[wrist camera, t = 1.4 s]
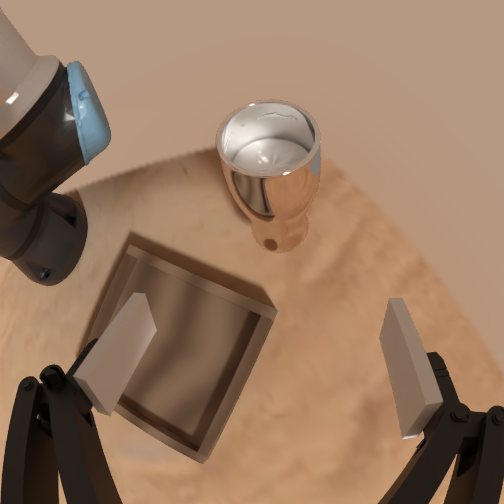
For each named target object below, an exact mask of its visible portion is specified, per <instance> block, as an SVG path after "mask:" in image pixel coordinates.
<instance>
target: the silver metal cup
mask: <svg viewBox="0 0 504 504" xmlns="http://www.w3.org/2000/svg"><path fill="white" fill-rule="evenodd" d="M320 140H321V133H320V129H319V126H318V124H317V122H316V120H315V118H314V117H313V116H312V115H311V114H310V113H309V112H308V111H307V110H305V109H303V108H302V107H300V106H298V105H296V104H294V103H291V102H288V101H283V100H274V99H267V100H259V101H255V102H251V103H248V104H245V105H243V106H241V107H239V108H238V109H236V110H234V111H233V112H232V113H231V114H229V115H228V116H227V117H226V118H225V119H224V121H223V122H222V124H221V125H220V127H219V129H218V131H217V135H216V148H217V151H218V154H219V157H220V161H221V165H222V169H223V173H224V176H225V179H226V182H227V185H228V187H229V190H230V192H231V194H232V196H233V198H234V200H235V201H236V203H237V204H238V205H239V207H240V208H241V210H242V211H243V212H244V213H245V214H246V215H247V216H248V218H249V219H250V220H251V230H252V234H253V237H254V239H255V241H256V242H257V243H258V244H259V245H260V246H261V247H262V248H264V249H265V250H267V251H270V252H273V253H286V252H290V251H292V250H294V249H296V248H297V247H299V246H300V245H301V244H302V243H303V241H304V240H305V238H306V236H307V234H308V229H309V223H308V218H307V215H306V214H307V212H308V210H309V208H310V206H311V204H312V202H313V200H314V197H315V195H316V192H317V189H318V184H319V179H320V169H321V148H320Z"/></svg>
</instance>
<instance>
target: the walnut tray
mask: <svg viewBox="0 0 504 504" xmlns="http://www.w3.org/2000/svg"><path fill="white" fill-rule="evenodd" d="M133 293H145V294H146V298H147V301H148V304H149V308H150V311H151V314H152V317H153V320H154V323H155V326H156V329H157V331H156V333H155V334H154V336H153V338H152V340H151V342H150V343H149V345H148V347H147V349H146V350H145V352H144V354H143V356H142V358H141V359H140V361H139V363H138V365H137V367H136V369H135V370H134V372H133V374H132V376H131V378H130V380H129V381H128V383H127V385H126V387H125V389H124V391H123V393H122V395H121V397H120V398H119V400H118V402H117V404H116V406H115V408H114V411H115V412H117V413H118V414H120V415H121V416H122V417H124V418H125V419H127V420H128V421H130V422H131V423H133V424H134V425H136V426H137V427H139V428H140V429H142V430H143V431H145V432H146V433H148V434H149V435H151V436H153V437H154V438H156V439H158V440H159V441H161V442H163V443H164V444H166V445H168V446H169V447H171V448H173V449H175V450H176V451H178V452H180V453H182V454H184V455H186V456H187V457H189V458H191V459H193V460H195V461H197V462H199V463H201V464H204V463H205V462H206V460H207V459H208V458H209V456H210V454H211V453H212V451H213V449H214V447H215V445H216V443H217V441H218V439H219V437H220V435H221V433H222V431H223V429H224V427H225V425H226V423H227V421H228V419H229V417H230V415H231V413H232V411H233V408H234V406H235V404H236V402H237V400H238V398H239V396H240V394H241V392H242V390H243V388H244V385H245V383H246V381H247V379H248V377H249V375H250V373H251V370H252V368H253V366H254V364H255V362H256V359H257V357H258V355H259V353H260V351H261V348H262V346H263V344H264V342H265V339H266V337H267V335H268V333H269V330H270V328H271V326H272V324H273V321H274V319H275V317H276V314H277V312H278V311H277V309H275V308H273V307H271V306H268V305H266V304H263V303H261V302H258V301H256V300H254V299H251V298H249V297H246V296H244V295H242V294H239V293H237V292H235V291H232V290H230V289H228V288H225V287H223V286H221V285H218V284H216V283H214V282H211V281H209V280H207V279H205V278H202V277H200V276H198V275H196V274H193V273H191V272H189V271H187V270H184V269H182V268H180V267H178V266H176V265H173V264H171V263H169V262H167V261H165V260H162V259H160V258H158V257H156V256H154V255H152V254H150V253H147V252H145V251H143V250H141V249H139V248H137V247H135V246H133V245H131V244H130V245H129V247H128V249H127V251H126V253H125V255H124V257H123V259H122V261H121V263H120V265H119V267H118V270H117V272H116V274H115V276H114V278H113V280H112V282H111V285H110V287H109V289H108V291H107V294H106V296H105V298H104V301H103V303H102V305H101V308H100V310H99V312H98V315H97V317H96V320H95V322H94V325H93V327H92V330H91V332H90V335H89V337H88V340H87V343H86V345H85V347H86V346H87V344H88V343H90V342H91V341H92V340H94V339H95V338H97V339H99V338H100V337H101V336H102V334H103V333H104V331H105V330H106V329H107V327H108V326H109V325H110V323H111V322H112V321H113V319H114V318H115V317H116V315H117V314H118V313H119V311H120V310H121V309H122V307H123V306H124V305H125V303H126V302H127V301H128V300H129V298H130V297H131V296H132V294H133Z"/></svg>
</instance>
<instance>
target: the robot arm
mask: <svg viewBox="0 0 504 504" xmlns="http://www.w3.org/2000/svg"><path fill="white" fill-rule="evenodd" d="M110 140H111V131H110V127H109V123H108V121H107V118H106V115H105V113H104V110H103V108H102V106H101V103H100V101H99V98H98V96H97V93H96V91H95V89H94V87H93V84H92V82H91V80H90V78H89V76H88V74H87V72H86V70H85V69H84V67H83V66H82V65H81V63H80V62H79V61H74V62H73V63H69V64H67V67H64V66H63V65H62V63H61V62H60V61H59V59H58V58H57V57H56V56H54V55H50V56H37V55H35V53H34V52H33V51H32V50H31V48H30V47H29V46H28V44H27V43H26V42H25V40H24V39H23V38H22V37H21V35H20V34H19V33H18V31H17V30H16V29H15V28H14V26H13V25H12V24H11V22H10V21H9V20H8V18H7V17H6V15H5V14H4V13H3V11H2V10H1V8H0V256H1V257H4V258H6V259H8V260H10V261H12V262H13V263H14V264H15V265H16V266H17V267H18V268H19V269H20V270H21V271H22V272H23V273H24V274H25V275H26V276H27V277H28V278H29V279H30V280H32V281H34V282H36V283H39V284H41V285H44V286H52V285H56V284H58V283H60V282H61V281H63V280H64V279H65V278H66V277H67V276H68V275H69V274H70V273H71V272H72V270H73V269H74V268H75V266H76V264H77V263H78V261H79V259H80V257H81V254H82V252H83V249H84V246H85V242H86V237H87V218H86V214H85V212H84V210H83V208H82V207H81V205H80V204H78V203H77V202H76V201H74V200H73V199H72V198H70V197H68V196H66V195H61V194H57V193H52V191H53V190H54V189H56V188H57V187H58V186H59V185H60V184H62V183H63V182H64V181H65V180H67V179H68V178H69V177H70V176H72V175H73V174H74V173H75V172H77V171H78V170H79V169H81V168H82V167H84V166H85V165H88V164H89V162H90V160H92V159H93V158H94V157H95V156H97V155H98V154H99V153H100V152H102V151H103V150H104V149H105V148H106V147H107V146H108V145H109V142H110ZM156 331H157V329H156V326H155V323H154V320H153V317H152V314H151V311H150V308H149V304H148V301H147V298H146V294H145V293H133V294H132V296H131V297H130V298H129V300H128V301H127V302H126V303H125V305H124V306H123V307H122V309H121V310H120V311H119V313H118V314H117V315H116V317H115V318H114V319H113V321H112V322H111V323H110V325H109V326H108V327H107V329H106V330H105V331H104V333H103V334H102V336H101V337H100V338H99V339H97V338H95V339H94V340H92V341H91V342H90V343H88V344H87V346H86V347H85V348H84V350H83V352H82V353H81V354H80V355H79V358H77V360H76V361H75V362H74V364H73V365H72V367H71V368H70V369H69V371H68V372H67V374H66V375H65V373H64V372H63V370H62V369H61V367H60V366H58V365H55V364H54V365H49V366H47V367H46V368H44V369H43V370H42V372H41V373H40V377H39V378H40V380H41V381H42V382H43V383H39V382H38V380H37V379H36V378H35V377H33V376H29V377H26V378H24V379H23V380H22V381H21V382H20V384H19V387H18V390H17V394H16V398H15V402H14V406H13V410H12V415H11V420H10V425H9V430H8V435H7V441H6V447H5V454H4V462H3V471H2V483H1V504H59V491H58V470H59V474H60V478H61V483H62V487H63V491H64V494H65V498H66V501H67V504H123V503H122V501H121V499H120V496H119V494H118V491H117V489H116V486H115V484H114V481H113V478H112V476H111V473H110V470H109V467H108V464H107V461H106V458H105V455H104V452H103V449H102V445H101V442H100V439H99V435H98V432H97V428H96V424H95V420H94V416H93V413H92V411H91V408H92V406H94V407H95V408H96V410H97V411H98V412H100V413H103V414H106V415H109V416H111V414H112V412H113V410H114V408H115V406H116V404H117V402H118V400H119V398H120V397H121V395H122V393H123V391H124V389H125V387H126V385H127V383H128V381H129V380H130V378H131V376H132V374H133V372H134V370H135V369H136V367H137V365H138V363H139V361H140V359H141V358H142V356H143V354H144V352H145V350H146V349H147V347H148V345H149V343H150V342H151V340H152V338H153V336H154V334H155V333H156ZM379 339H380V342H381V346H382V349H383V353H384V357H385V361H386V365H387V369H388V373H389V377H390V381H391V386H392V390H393V394H394V399H395V404H396V408H397V413H398V418H399V423H400V429H401V434H402V439H407V438H413V437H418V436H419V435H420V433H421V432H422V431H423V432H424V439H423V440H422V441H421V442H420V444H419V445H418V446H417V447H416V448H417V450H416V451H415V453H414V455H413V456H412V458H411V459H410V461H409V462H408V464H407V465H406V467H405V468H404V470H403V471H402V472H401V474H400V475H399V477H398V478H397V479H396V481H395V482H394V484H393V485H392V486H391V488H390V489H389V490H388V492H387V493H386V494H385V495H384V497H383V498H382V499H381V500H380V502H379V503H378V504H429V502H430V500H431V499H432V497H433V496H434V494H435V492H436V491H437V489H438V487H439V486H440V484H441V482H442V480H443V479H444V477H445V475H446V473H447V471H448V469H449V468H450V466H451V464H452V462H453V460H454V458H455V456H456V454H457V458H456V462H455V466H454V470H453V474H452V478H451V481H450V485H449V488H448V491H447V494H446V497H445V500H444V503H443V504H498V503H499V499H500V495H501V490H502V485H503V480H504V407H501V406H493V407H491V408H490V409H489V411H488V412H487V413H485V412H473V411H470V409H469V408H468V407H467V406H466V405H465V404H463V403H460V401H459V399H458V396H457V393H456V391H455V388H454V385H453V383H452V380H451V377H449V372H448V370H447V369H446V368H447V367H446V365H445V363H444V360H443V359H442V358H441V356H440V355H439V354H438V353H437V352H431V353H426V352H425V349H424V347H423V344H422V342H421V339H420V337H419V334H418V332H417V330H416V327H415V325H414V323H413V320H412V318H411V316H410V314H409V311H408V309H407V307H406V305H405V303H404V300H403V298H389V301H388V306H387V310H386V314H385V318H384V322H383V326H382V330H381V333H380V337H379ZM38 415H39V416H38ZM37 416H38V419H37Z"/></svg>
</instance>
